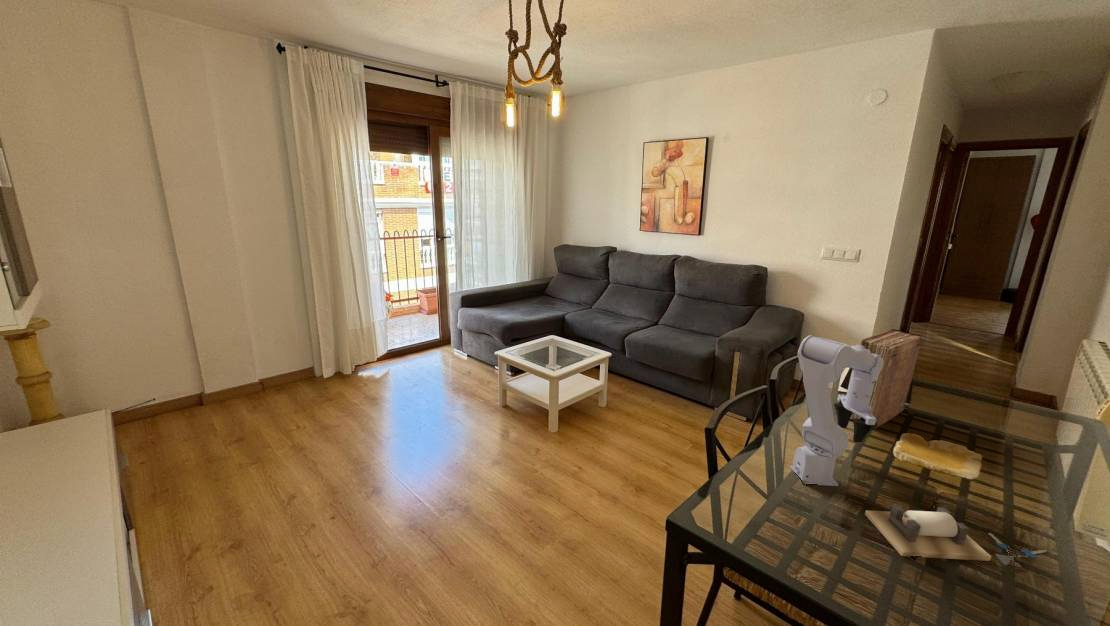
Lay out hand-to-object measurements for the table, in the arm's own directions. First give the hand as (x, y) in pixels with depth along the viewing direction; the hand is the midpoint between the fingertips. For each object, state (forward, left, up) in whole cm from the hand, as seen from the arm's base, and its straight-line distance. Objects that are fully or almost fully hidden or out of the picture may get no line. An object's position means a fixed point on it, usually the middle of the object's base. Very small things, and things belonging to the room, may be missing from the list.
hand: (849, 434), depth 129 cm
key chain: (+19, -31, -10) cm, 38 cm away
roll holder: (+2, -29, -9) cm, 31 cm away
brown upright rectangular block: (+29, +31, -10) cm, 43 cm away
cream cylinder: (+2, -30, -5) cm, 30 cm away
